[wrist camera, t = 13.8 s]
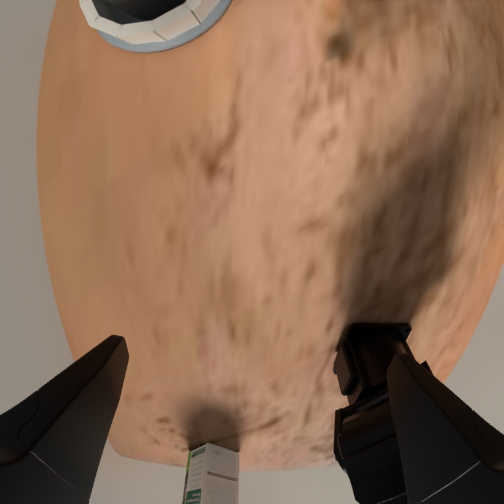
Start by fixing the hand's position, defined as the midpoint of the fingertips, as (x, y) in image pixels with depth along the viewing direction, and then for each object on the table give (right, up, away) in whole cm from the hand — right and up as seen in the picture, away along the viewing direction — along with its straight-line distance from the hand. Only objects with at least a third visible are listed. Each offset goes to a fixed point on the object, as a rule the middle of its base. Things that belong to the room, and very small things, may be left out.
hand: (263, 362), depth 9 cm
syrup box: (-6, -27, +28) cm, 39 cm away
